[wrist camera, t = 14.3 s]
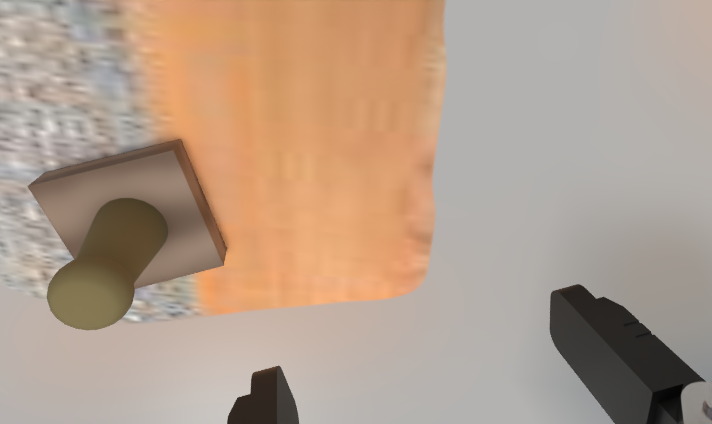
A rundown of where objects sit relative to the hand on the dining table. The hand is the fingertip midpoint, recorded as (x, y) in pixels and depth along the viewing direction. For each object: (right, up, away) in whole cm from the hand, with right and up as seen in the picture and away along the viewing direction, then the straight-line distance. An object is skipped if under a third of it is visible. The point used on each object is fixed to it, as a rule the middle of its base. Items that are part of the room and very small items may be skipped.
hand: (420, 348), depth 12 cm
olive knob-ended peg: (-22, +3, +26) cm, 34 cm away
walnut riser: (-22, +4, +28) cm, 36 cm away
